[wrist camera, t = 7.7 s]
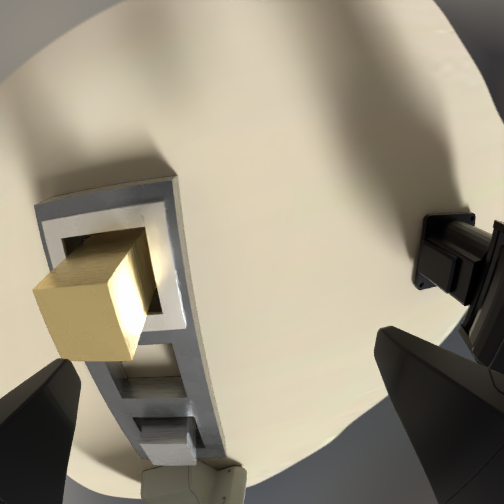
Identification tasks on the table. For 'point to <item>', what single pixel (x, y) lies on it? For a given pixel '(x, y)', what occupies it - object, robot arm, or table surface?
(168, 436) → the steel peg
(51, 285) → the brass peg
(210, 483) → the digital clock
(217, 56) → the table surface
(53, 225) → the rail
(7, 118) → the table surface
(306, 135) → the table surface
